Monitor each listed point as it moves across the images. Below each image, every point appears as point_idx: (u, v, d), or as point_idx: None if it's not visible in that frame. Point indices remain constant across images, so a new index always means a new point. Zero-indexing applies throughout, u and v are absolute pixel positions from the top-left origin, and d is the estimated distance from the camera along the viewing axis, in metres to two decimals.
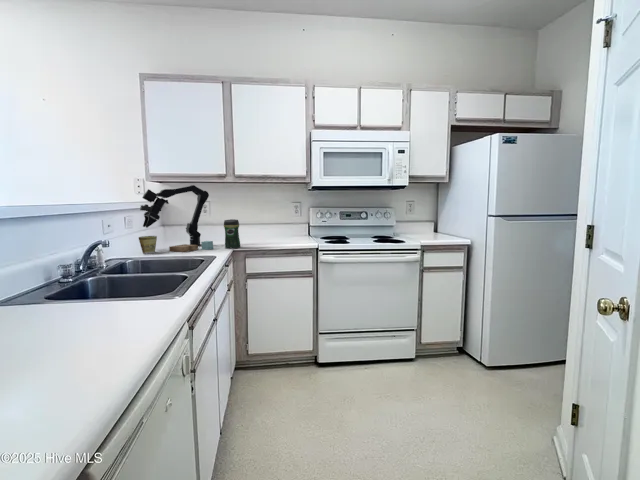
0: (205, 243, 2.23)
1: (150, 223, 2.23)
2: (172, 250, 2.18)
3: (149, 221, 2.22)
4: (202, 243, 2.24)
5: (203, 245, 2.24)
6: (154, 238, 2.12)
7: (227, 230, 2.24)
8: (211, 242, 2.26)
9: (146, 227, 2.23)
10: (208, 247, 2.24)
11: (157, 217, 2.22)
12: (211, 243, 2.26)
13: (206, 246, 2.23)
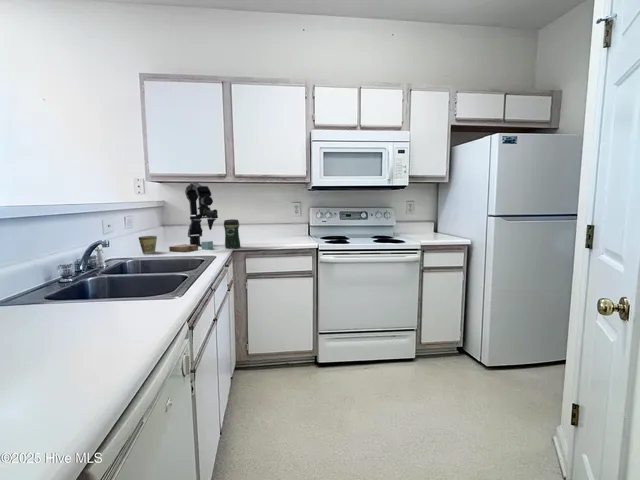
0: (205, 243, 2.23)
1: None
2: (172, 250, 2.18)
3: None
4: (202, 243, 2.24)
5: (203, 245, 2.24)
6: (154, 238, 2.12)
7: (227, 230, 2.24)
8: (211, 242, 2.26)
9: (210, 229, 2.29)
10: (208, 247, 2.24)
11: None
12: (211, 243, 2.26)
13: (206, 246, 2.23)
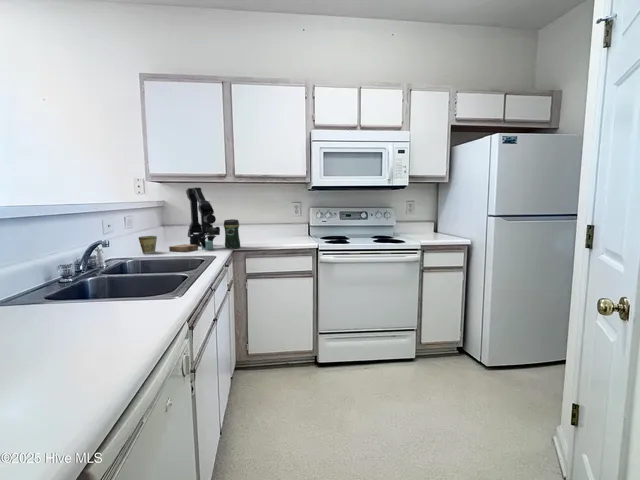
0: (205, 243, 2.23)
1: None
2: (172, 250, 2.18)
3: None
4: None
5: None
6: (154, 238, 2.12)
7: (227, 230, 2.24)
8: (211, 242, 2.26)
9: None
10: (208, 247, 2.24)
11: None
12: (211, 243, 2.26)
13: (206, 246, 2.23)
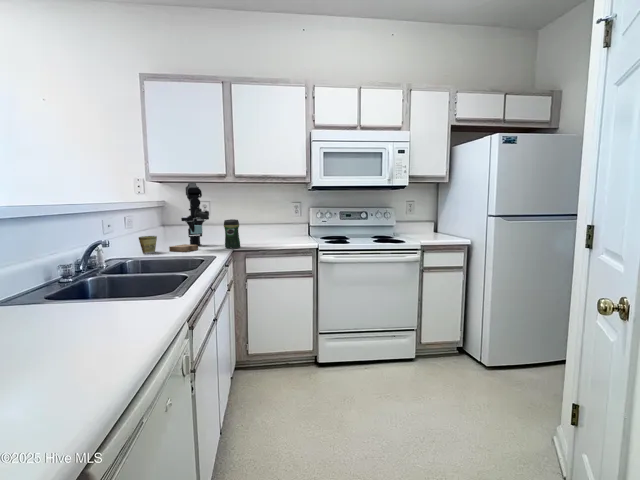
0: (194, 227, 2.20)
1: None
2: (172, 250, 2.18)
3: None
4: None
5: None
6: (154, 238, 2.12)
7: (227, 230, 2.24)
8: (200, 226, 2.23)
9: None
10: (197, 231, 2.20)
11: None
12: (200, 227, 2.22)
13: (195, 230, 2.20)
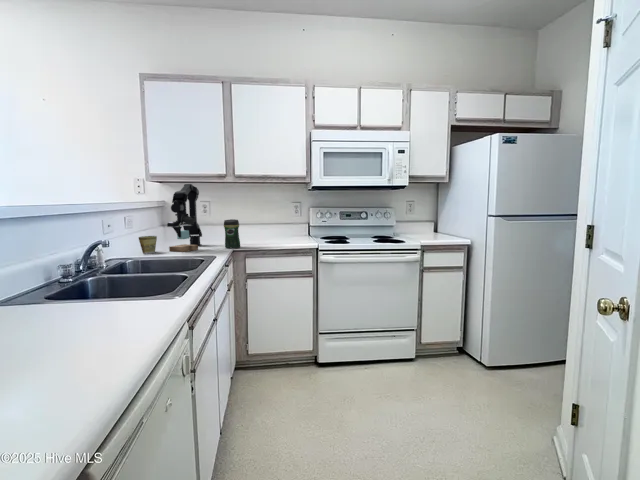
0: None
1: None
2: (172, 250, 2.18)
3: None
4: None
5: None
6: (154, 238, 2.12)
7: (227, 230, 2.24)
8: (187, 231, 2.20)
9: None
10: (184, 236, 2.18)
11: None
12: (187, 232, 2.20)
13: (182, 236, 2.18)
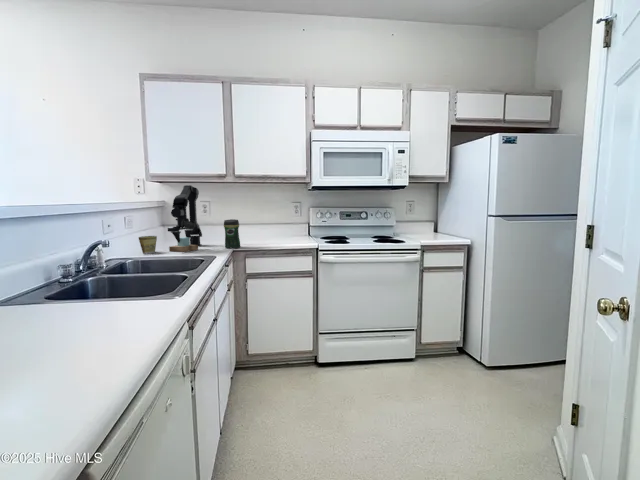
0: (181, 239, 2.18)
1: None
2: (172, 250, 2.18)
3: None
4: None
5: None
6: (154, 238, 2.12)
7: (227, 230, 2.24)
8: (187, 238, 2.21)
9: None
10: (184, 244, 2.19)
11: None
12: (187, 239, 2.20)
13: (182, 243, 2.18)
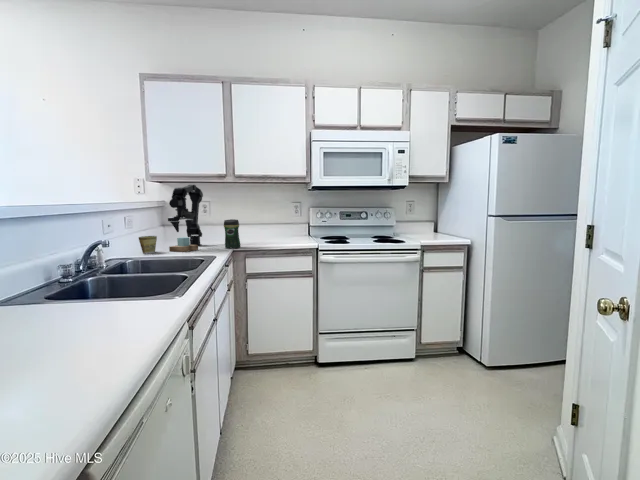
0: (181, 239, 2.18)
1: None
2: (172, 250, 2.18)
3: None
4: (178, 239, 2.19)
5: (179, 241, 2.19)
6: (154, 238, 2.12)
7: (227, 230, 2.24)
8: (187, 238, 2.21)
9: (188, 230, 2.32)
10: (184, 244, 2.19)
11: None
12: (187, 239, 2.20)
13: (182, 243, 2.18)
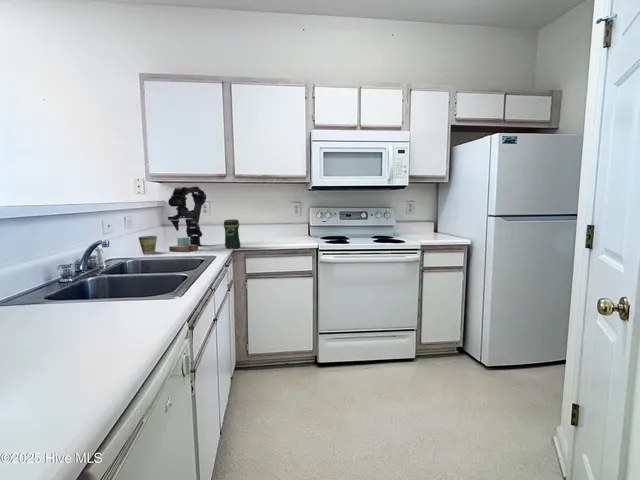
0: (181, 239, 2.18)
1: None
2: (172, 250, 2.18)
3: None
4: (178, 239, 2.19)
5: (179, 241, 2.19)
6: (154, 238, 2.12)
7: (227, 230, 2.24)
8: (187, 238, 2.21)
9: (188, 229, 2.35)
10: (184, 244, 2.19)
11: None
12: (187, 239, 2.20)
13: (182, 243, 2.18)
